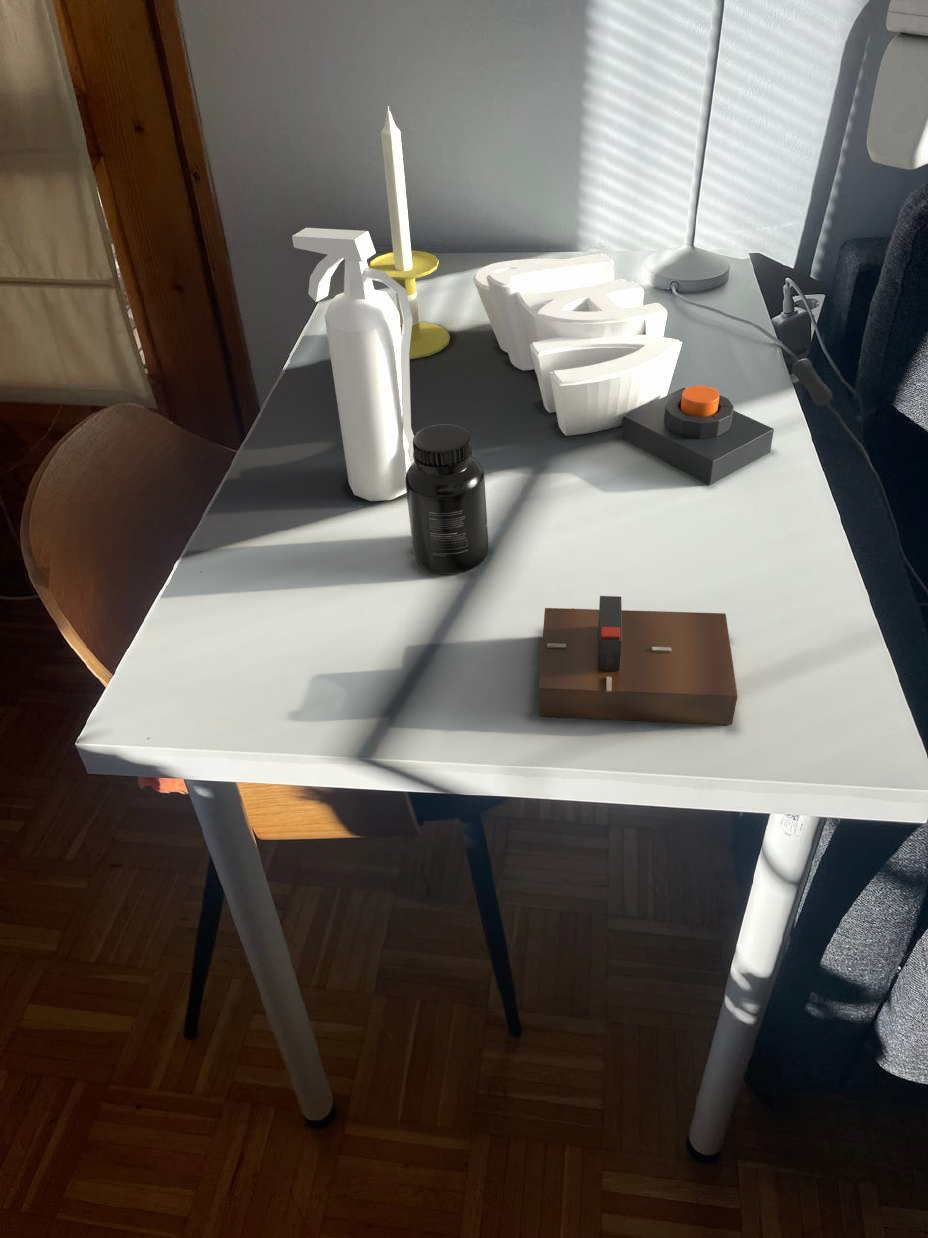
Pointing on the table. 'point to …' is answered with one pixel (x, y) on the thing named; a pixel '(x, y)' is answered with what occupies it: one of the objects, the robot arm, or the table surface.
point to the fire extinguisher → (366, 362)
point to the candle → (406, 248)
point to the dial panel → (639, 668)
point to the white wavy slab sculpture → (580, 337)
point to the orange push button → (700, 401)
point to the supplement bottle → (446, 501)
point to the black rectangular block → (609, 633)
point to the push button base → (697, 437)
